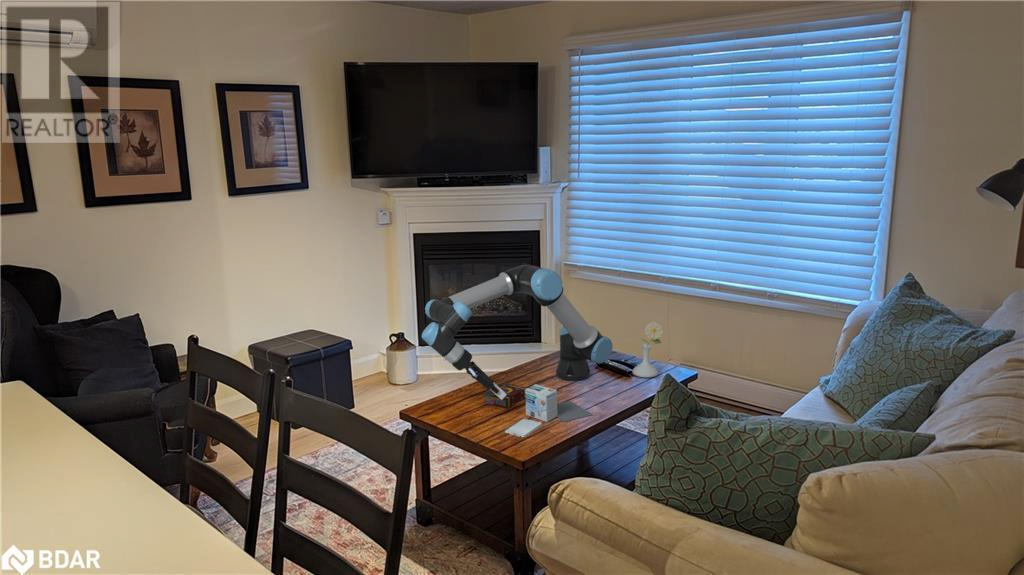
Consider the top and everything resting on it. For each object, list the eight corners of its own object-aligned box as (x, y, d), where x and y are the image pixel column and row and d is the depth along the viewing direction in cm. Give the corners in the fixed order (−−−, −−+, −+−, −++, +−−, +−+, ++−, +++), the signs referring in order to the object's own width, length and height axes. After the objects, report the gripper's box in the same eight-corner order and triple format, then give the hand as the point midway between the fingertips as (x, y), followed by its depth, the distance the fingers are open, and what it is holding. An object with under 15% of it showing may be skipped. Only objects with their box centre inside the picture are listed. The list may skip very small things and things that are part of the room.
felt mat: (569, 401, 278) (569, 400, 278) (593, 415, 264) (593, 414, 264) (542, 407, 272) (542, 407, 271) (564, 422, 258) (564, 421, 258)
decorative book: (527, 397, 283) (527, 386, 282) (505, 410, 270) (505, 398, 269) (505, 392, 289) (505, 381, 288) (482, 404, 276) (481, 392, 275)
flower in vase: (629, 378, 304) (631, 323, 299) (635, 370, 314) (637, 316, 309) (659, 381, 299) (661, 326, 294) (664, 373, 309) (666, 319, 304)
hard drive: (523, 418, 259) (505, 429, 249) (542, 422, 255) (524, 434, 245) (523, 422, 259) (505, 434, 249) (542, 427, 255) (524, 439, 245)
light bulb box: (525, 415, 264) (524, 388, 262) (536, 409, 269) (535, 383, 267) (547, 422, 257) (546, 395, 255) (558, 416, 262) (557, 389, 260)
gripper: (449, 358, 258) (494, 397, 264) (452, 369, 245) (499, 410, 252) (463, 343, 258) (508, 383, 264) (466, 354, 245) (513, 395, 251)
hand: (503, 396), depth 258 cm, fingers closed
